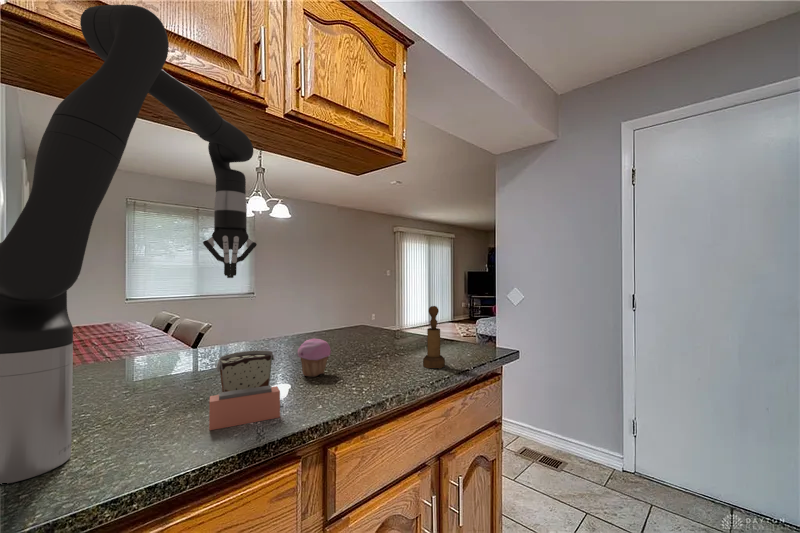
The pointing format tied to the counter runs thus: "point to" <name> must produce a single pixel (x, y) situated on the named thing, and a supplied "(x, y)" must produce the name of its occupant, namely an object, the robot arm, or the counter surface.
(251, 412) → the pink and grey block
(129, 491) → the counter surface
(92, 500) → the counter surface
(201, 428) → the counter surface
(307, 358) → the cupcake
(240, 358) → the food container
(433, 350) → the brown tall knobbed column
